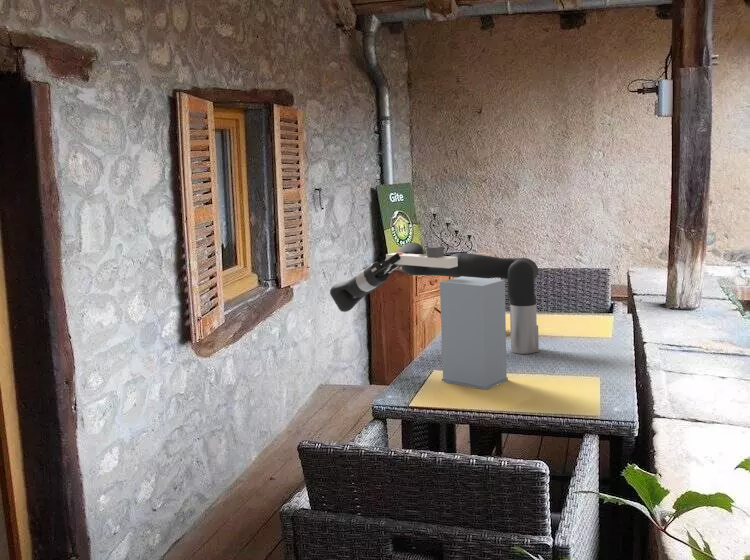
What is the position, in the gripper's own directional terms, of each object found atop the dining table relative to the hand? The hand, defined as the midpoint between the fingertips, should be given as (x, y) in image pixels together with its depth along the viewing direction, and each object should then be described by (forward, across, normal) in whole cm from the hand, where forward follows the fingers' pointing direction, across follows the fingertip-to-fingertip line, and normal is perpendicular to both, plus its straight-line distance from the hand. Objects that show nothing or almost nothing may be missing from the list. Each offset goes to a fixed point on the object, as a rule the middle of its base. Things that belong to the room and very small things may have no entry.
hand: (403, 255), depth 255 cm
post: (+4, 0, -47) cm, 47 cm away
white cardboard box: (+5, 0, -6) cm, 8 cm away
